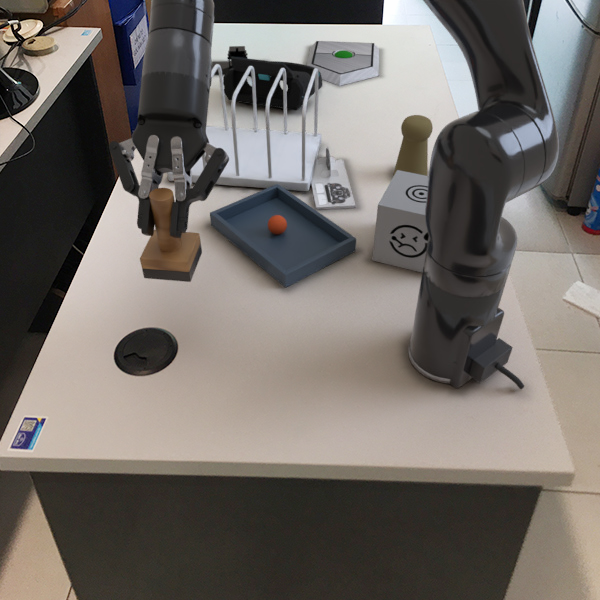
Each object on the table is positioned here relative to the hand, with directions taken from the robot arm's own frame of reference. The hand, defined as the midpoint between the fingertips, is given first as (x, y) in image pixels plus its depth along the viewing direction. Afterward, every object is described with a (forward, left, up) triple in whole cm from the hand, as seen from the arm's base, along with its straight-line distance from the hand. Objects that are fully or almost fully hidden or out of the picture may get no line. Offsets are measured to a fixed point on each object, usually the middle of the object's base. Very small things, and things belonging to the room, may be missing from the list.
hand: (161, 235), depth 70 cm
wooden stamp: (+1, -1, -6) cm, 6 cm away
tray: (+10, -24, -18) cm, 32 cm away
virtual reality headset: (+52, -55, -18) cm, 78 cm away
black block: (+69, -56, -18) cm, 91 cm away
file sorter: (+32, -33, -18) cm, 50 cm away
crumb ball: (+11, -24, -16) cm, 31 cm away
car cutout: (+17, -40, -18) cm, 48 cm away
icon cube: (-5, -38, -18) cm, 43 cm away
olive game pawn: (+10, -53, -18) cm, 57 cm away
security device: (+54, -76, -18) cm, 95 cm away
